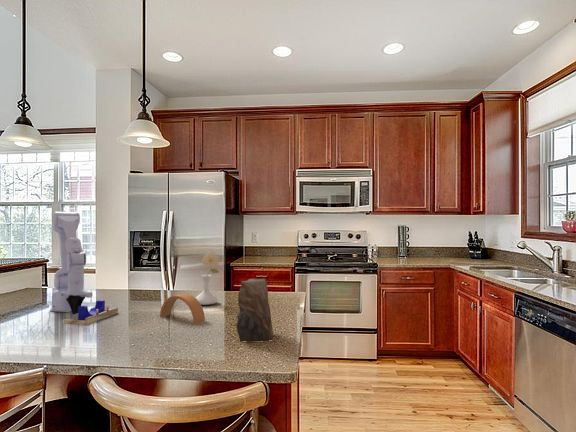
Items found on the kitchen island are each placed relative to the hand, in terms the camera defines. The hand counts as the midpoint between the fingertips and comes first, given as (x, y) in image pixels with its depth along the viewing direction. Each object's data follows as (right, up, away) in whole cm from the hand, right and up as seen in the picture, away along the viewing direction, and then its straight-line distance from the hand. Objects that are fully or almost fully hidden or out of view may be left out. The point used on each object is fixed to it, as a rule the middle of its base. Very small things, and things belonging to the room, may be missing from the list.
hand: (75, 313), depth 151 cm
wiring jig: (+9, -1, -2) cm, 9 cm away
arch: (+45, -2, -2) cm, 45 cm away
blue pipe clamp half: (+7, -2, -1) cm, 7 cm away
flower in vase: (+50, -2, +24) cm, 55 cm away
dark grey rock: (+78, -2, -25) cm, 82 cm away
